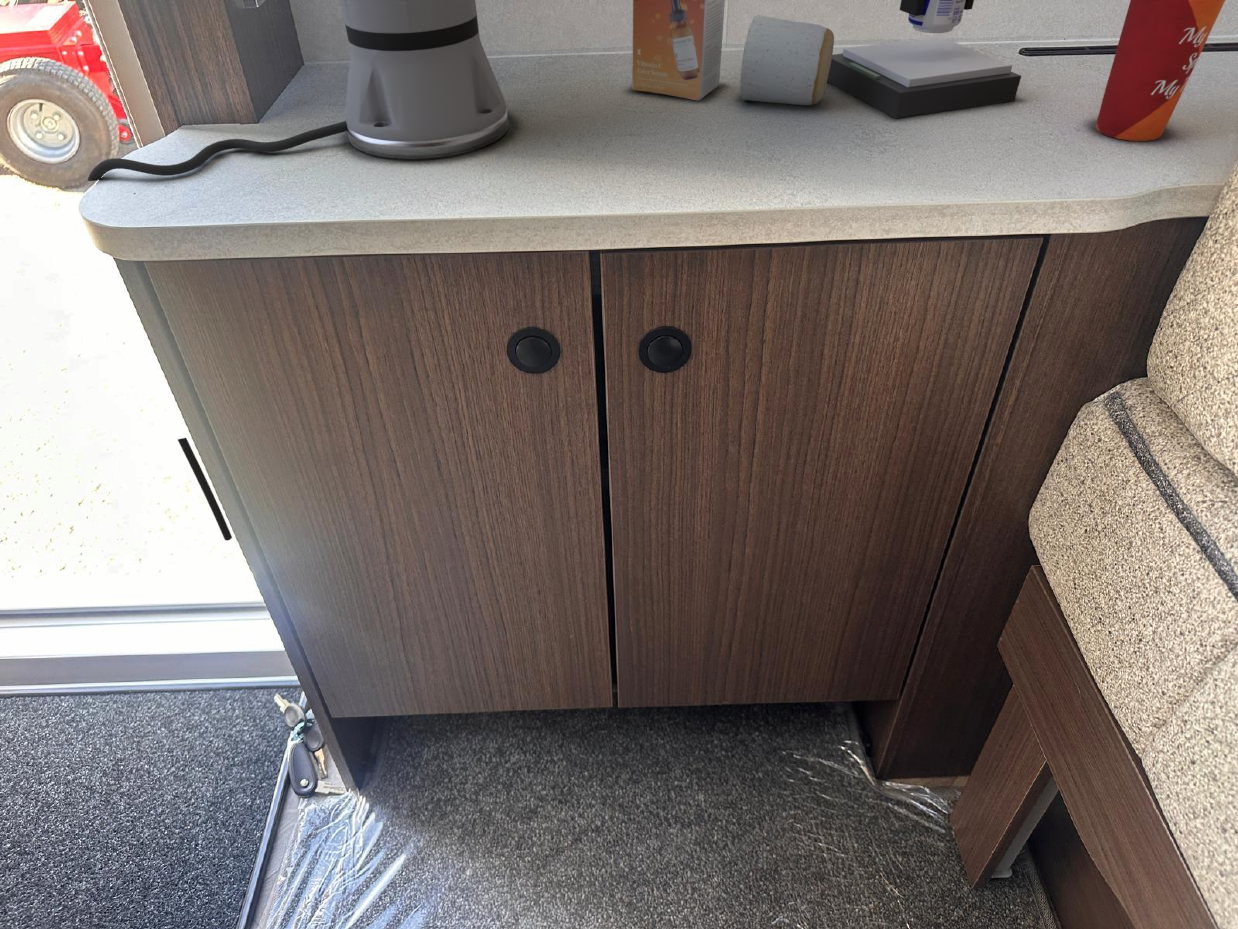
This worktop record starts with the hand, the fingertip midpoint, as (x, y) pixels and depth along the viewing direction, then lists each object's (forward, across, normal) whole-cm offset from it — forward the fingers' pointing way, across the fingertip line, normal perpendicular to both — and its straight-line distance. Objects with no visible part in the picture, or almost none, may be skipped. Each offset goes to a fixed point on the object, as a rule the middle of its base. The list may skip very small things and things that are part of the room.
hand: (935, 8), depth 83 cm
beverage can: (+2, 0, 0) cm, 2 cm away
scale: (+8, -1, 0) cm, 8 cm away
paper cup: (+8, +10, -18) cm, 22 cm away
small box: (+8, -24, +10) cm, 27 cm away
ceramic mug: (+8, -15, +3) cm, 17 cm away
